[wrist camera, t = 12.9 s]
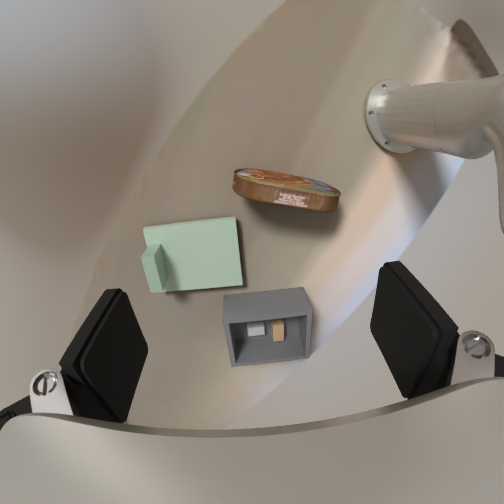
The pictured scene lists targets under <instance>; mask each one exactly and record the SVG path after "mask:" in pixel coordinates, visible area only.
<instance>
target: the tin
mask: <svg viewBox="0 0 504 504" xmlns="http://www.w3.org/2000/svg"><path fill="white" fill-rule="evenodd" d="M232 187H233V190H234V191H235V192H236V193H237V194H238V195H240V196H242V197H244V198H247V199H250V200H253V201H257V202H262V203H268V204H274V205H280V206H286V207H292V208H298V209H304V210H310V211H316V212H332V211H334V210H335V209H336V207H337V204H338V200H339V197H340V195H341V192H340V191H339V190H337V189H336V188H334V187H332V186H330V185H327V184H325V183H323V182H320V181H316V180H313V179H308V178H304V177H299V176H293V175H288V174H283V173H277V172H272V171H266V170H259V169H248V168H245V169H244V168H243V169H237V170H235V171H234V179H233V185H232Z"/></svg>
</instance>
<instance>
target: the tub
mask: <svg viewBox="0 0 504 504" xmlns="http://www.w3.org/2000/svg"><path fill="white" fill-rule="evenodd" d="M223 323H224V329H225V334H226V340H227V345H228V350H229V355H230V360H231V366H232V367H235V366H246V365H257V364H266V363H275V362H283V361H290V360H298V359H304V358H309V355H310V341H311V326H312V308H311V306H310V303H309V301H308V298H307V296H306V293H305V291H304V288H303V287H299V288H290V289H281V290H272V291H263V292H253V293H243V294H233V295H224V304H223Z"/></svg>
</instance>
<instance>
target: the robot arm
mask: <svg viewBox="0 0 504 504" xmlns="http://www.w3.org/2000/svg"><path fill="white" fill-rule="evenodd" d="M382 86H383V87H382ZM369 112H370V115H369ZM365 120H366V124H367V127H368V129H369V131H370V133H371V135H372V137H373V138H374V139H375V141H376V142H377V143H378V144H379V145H380V146H382V147H383V148H385V149H386V150H389V151H391V152H395V153H409V152H411V151H414V150H415V149H416V148H423V149H427V150H432V151H436V152H441V153H445V154H449V155H453V156H457V157H461V158H465V159H478V158H481V157H483V156H485V155H487V154H489V153H490V152H491V151H492V150H493V149H494V155H495V162H496V167H497V178H498V194H499V195H498V197H499V218H500V224H501V228H502V231H503V233H504V74H502V75H497V76H493V77H488V78H482V79H473V80H463V81H450V82H439V83H429V84H421V85H413V86H410V85H409V84H407V83H405V82H403V81H399V80H392V79H391V80H385V81H382V82H380V83H378V84H376V85H375V86H374V87H373V88H372V89H371V90H370V92H369V94H368V96H367V98H366V101H365ZM370 329H371V333H372V335H373V337H374V339H375V341H376V342H377V344H378V346H379V348H380V350H381V352H382V354H383V356H384V358H385V360H386V362H387V364H388V366H389V369H390V371H391V373H392V375H393V377H394V379H395V381H396V383H397V385H398V388H399V390H400V392H401V394H402V396H403V397H404V398H407V399H408V400H406V401H402V402H399V403H395V404H392V405H388V406H384V407H381V408H377V409H374V410H370V411H365V412H361V413H357V414H352V415H348V416H344V417H338V418H333V419H327V420H321V421H315V422H309V423H302V424H294V425H286V426H277V427H267V428H253V429H231V430H193V429H170V428H157V427H146V426H137V425H129V424H122V423H123V422H125V421H126V419H127V417H128V413H129V410H130V407H131V403H132V400H133V397H134V394H135V390H136V387H137V384H138V381H139V378H140V375H141V372H142V369H143V366H144V363H145V360H146V357H147V354H148V346H147V343H146V341H145V338H144V336H143V334H142V331H141V329H140V326H139V324H138V321H137V319H136V316H135V314H134V311H133V309H132V306H131V304H130V301H129V298H128V296H127V294H126V292H123V291H122V290H121V289H120V288H119V289H106V290H105V292H104V293H103V294H102V296H101V297H100V299H99V300H98V302H97V303H96V305H95V306H94V308H93V309H92V311H91V312H90V314H89V315H88V317H87V318H86V320H85V321H84V323H83V324H82V326H81V327H80V329H79V331H78V332H77V334H76V335H75V337H74V339H73V340H72V342H71V343H70V345H69V347H68V348H67V350H66V352H65V353H64V355H63V357H62V359H61V360H60V362H59V364H60V366H61V367H62V369H61V371H58V370H57V369H54V368H47V369H44V370H42V371H40V372H38V373H37V374H36V375H35V376H34V378H33V379H32V380H31V383H30V386H29V392H30V395H29V396H27V397H25V398H23V399H22V400H19V401H18V402H16V403H14V404H12V405H10V406H9V407H6V408H4V409H3V410H2V411H0V504H504V357H503V356H499V355H497V354H495V349H494V345H493V343H492V341H491V340H490V339H489V338H488V336H486V335H485V334H483V333H481V332H478V331H466V332H464V333H462V334H461V335H459V334H458V332H457V330H458V326H457V325H456V324H455V323H454V322H453V320H452V319H451V318H450V317H449V315H448V314H447V313H446V312H445V311H444V310H443V308H442V307H441V306H440V305H439V303H438V302H437V301H436V300H435V299H434V298H433V297H432V295H431V294H430V293H429V292H428V291H427V290H426V289H425V288H424V287H423V285H422V284H421V283H420V282H419V281H418V280H417V279H416V278H415V277H414V275H412V273H410V271H409V270H408V269H407V268H406V267H405V266H404V265H403V264H402V263H401V262H400V261H394V262H386V263H385V264H384V265H383V267H381V268H380V270H379V276H378V283H377V289H376V295H375V301H374V308H373V313H372V318H371V323H370Z"/></svg>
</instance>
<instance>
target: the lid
mask: <svg viewBox="0 0 504 504" xmlns="http://www.w3.org/2000/svg"><path fill="white" fill-rule="evenodd" d="M143 232H144V236H145V241H146V245H147V249H146V250H145V252H144V253H143V255H142V256H141V259H142V263H143V267H144V270H145V274H146V278H147V281H148V285H149V288H150V292H151V293H152V292H168V291H181V290H193V289H205V288H216V287H227V286H237V285H243V281H242V272H241V263H240V254H239V245H238V236H237V227H236V217H235V216H234V217H225V218H215V219H206V220H197V221H189V222H181V223H172V224H164V225H157V226H149V227H144V229H143Z"/></svg>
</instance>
